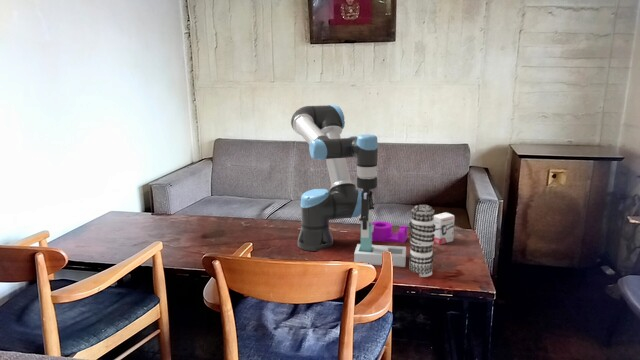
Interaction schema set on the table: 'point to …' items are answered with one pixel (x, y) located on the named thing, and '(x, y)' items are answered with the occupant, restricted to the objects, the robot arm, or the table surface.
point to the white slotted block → (376, 255)
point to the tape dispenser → (388, 233)
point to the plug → (367, 240)
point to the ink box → (443, 228)
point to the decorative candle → (422, 240)
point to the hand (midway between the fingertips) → (366, 231)
